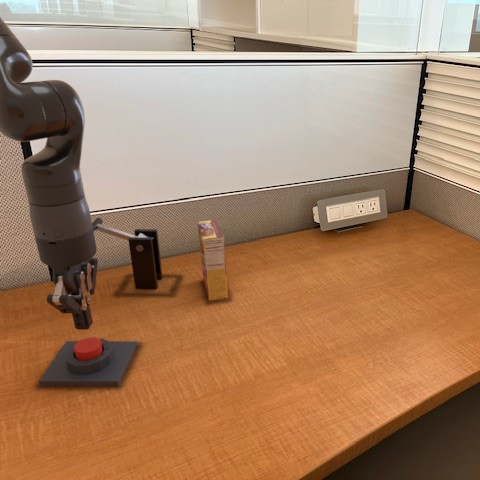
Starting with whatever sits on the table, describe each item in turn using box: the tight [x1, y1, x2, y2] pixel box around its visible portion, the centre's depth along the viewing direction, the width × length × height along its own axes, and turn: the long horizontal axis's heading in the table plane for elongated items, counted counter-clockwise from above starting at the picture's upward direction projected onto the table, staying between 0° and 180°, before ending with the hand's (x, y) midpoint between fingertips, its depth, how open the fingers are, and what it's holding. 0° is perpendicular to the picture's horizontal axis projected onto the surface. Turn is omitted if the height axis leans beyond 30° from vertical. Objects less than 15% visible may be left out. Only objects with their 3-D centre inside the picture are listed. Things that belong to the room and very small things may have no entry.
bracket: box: [127, 228, 163, 290], centre depth 100 cm, size 11×8×13 cm
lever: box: [92, 217, 153, 241], centre depth 97 cm, size 12×5×2 cm, turn 93°
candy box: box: [197, 219, 229, 302], centre depth 99 cm, size 9×4×15 cm, turn 20°
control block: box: [38, 338, 138, 387], centre depth 79 cm, size 12×10×4 cm
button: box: [74, 336, 103, 361], centre depth 78 cm, size 4×4×2 cm
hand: (84, 326), depth 76 cm, fingers closed
